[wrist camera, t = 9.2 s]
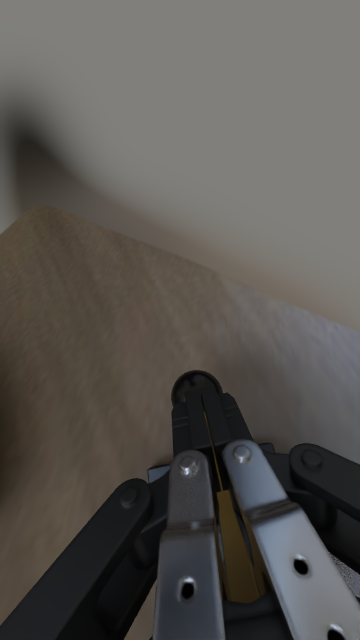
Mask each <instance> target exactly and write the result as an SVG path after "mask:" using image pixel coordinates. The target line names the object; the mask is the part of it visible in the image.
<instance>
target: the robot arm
mask: <svg viewBox="0 0 360 640" xmlns="http://www.w3.org/2000/svg"><path fill="white" fill-rule="evenodd" d="M200 392H201V397H202V401H201V397H200V393H199V388H195V389H190V390H186V391H184V394H185V402H181V403H176V404H175V406H174V408H173V410H172V428H173V429H172V432H173V453H174V458H173V460H172V462H171V464H170V469H169V470H168V471H167V472H166V473H165V474H164V475H163V476H162V477H160V478H158V479H157V480H155V481H153V482H151V483H149V484H147V482H145V481H144V480H142V479H138V478H135V479H130V480H127V481H125V482H124V483H122V484H121V485H119V486H118V487H117V488H116V489H115V491H114V492H113V493H112V494H111V495H110V497H109V498H108V499H107V500H106V501H105V502H104V504H103V505H102V506H101V507H100V508H99V510H98V511H97V512H96V513H95V514H94V515H93V517H92V518H91V519H90V520H89V521H88V523H87V524H86V525H85V526H84V527H83V528H82V530H81V531H80V532H79V533H78V534H77V536H76V537H75V538H74V539H73V540H72V542H71V543H70V544H69V545H68V546H67V547H66V549H65V550H64V551H63V552H62V553H61V555H60V556H59V557H58V558H57V559H56V560H55V562H54V563H53V564H52V565H51V566H50V568H49V569H48V570H47V571H46V572H45V573H44V575H43V576H42V577H41V578H40V579H39V581H38V582H37V583H36V584H35V585H34V586H33V588H32V589H31V590H30V591H29V592H28V594H27V595H26V596H25V597H24V598H23V599H22V601H21V602H20V603H19V604H18V605H17V607H16V608H15V609H14V610H13V611H12V613H11V614H10V615H9V616H8V617H7V618H6V620H5V621H4V622H3V623H2V624H1V626H0V640H124V638H125V636H126V634H127V632H128V631H129V629H130V627H131V625H132V623H133V621H134V619H135V618H136V616H137V614H138V612H139V610H140V608H141V606H142V605H143V603H144V601H145V599H146V597H147V595H148V594H149V592H150V590H151V588H152V586H153V584H154V582H155V581H156V579H157V585H156V598H155V611H154V625H153V636H152V637H151V638H150V639H149V640H360V598H359V597H357V596H354V594H353V592H352V591H351V589H350V587H349V586H348V584H347V582H346V581H345V579H344V577H343V576H342V574H341V572H340V571H339V569H338V567H337V566H336V564H335V562H334V561H333V559H332V557H331V556H330V554H329V552H330V553H331V554H332V555H334V556H335V557H336V558H338V559H339V560H341V561H342V562H343V563H345V564H346V565H347V566H349V567H350V568H351V569H353V570H354V571H355V572H357V573H358V574H359V575H360V465H359V464H357V463H355V462H353V461H350V460H348V459H346V458H344V457H342V456H340V455H338V454H335V453H333V452H331V451H329V450H327V449H325V448H322V447H320V446H318V445H314V444H309V443H303V444H298V445H296V446H294V447H293V448H292V449H291V450H290V452H289V454H279V453H272V452H268V451H266V450H264V449H262V448H260V447H259V446H258V445H257V444H256V443H255V442H254V441H253V439H252V437H251V434H250V432H249V430H248V428H247V425H246V423H245V421H244V419H243V416H242V414H241V412H240V410H239V408H238V405H237V403H236V401H235V399H234V398H233V397H232V396H231V395H230V394H228V393H223V394H217V391H216V389H215V386H214V385H209V386H204V387H200ZM202 402H203V405H202ZM203 407H204V410H203ZM204 411H205V414H204ZM205 416H206V418H205ZM206 421H207V422H206ZM207 425H208V426H207ZM208 429H209V431H208ZM209 434H210V435H209ZM210 438H211V439H210ZM211 442H212V443H211ZM212 446H213V448H212ZM213 450H214V453H213ZM214 455H215V458H214ZM215 459H216V463H217V467H218V472H219V476H220V480H221V484H222V488H223V491H226V490H229V494H230V498H231V501H232V507H233V512H234V515H235V518H236V521H237V524H238V527H239V530H240V533H241V536H242V539H243V542H244V545H245V548H246V551H247V554H248V557H249V560H250V563H251V566H252V569H253V572H254V576H255V579H256V583H257V586H258V590H259V594H260V597H259V598H258V599H256V600H255V601H253V602H251V603H240V602H234V601H232V600H231V594H230V588H229V582H228V575H227V567H226V560H225V552H224V545H223V537H222V530H221V522H220V515H219V502H218V497H217V492H221V487H220V482H219V477H218V472H217V468H216V463H215Z"/></svg>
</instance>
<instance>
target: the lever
mask: <svg viewBox="0 0 360 640" xmlns="http://www.w3.org/2000/svg"><path fill="white" fill-rule="evenodd" d="M209 385H214V386H215V389H216V391H217V394H223V391H222V388H221V385H220V383H219V382H218V380H217V379H216V378H215V377H214V376H213V375H211V374H210V373H208V372H205V371H201V370H192V371H188V372H186V373H184V374H183V375H181V376H180V377H179V378H178V379H177V381H176V382H175V384H174V386H173V389H172V394H171V400H172V405H173V408H174V406H175V404H176V403H181V402H185V394H184V391H186V390H190V389H195V388H199V393H200V397H201V392H200V387H204V386H209ZM201 401H202V397H201ZM202 405H203V402H202ZM203 410H204V407H203ZM204 414H205V411H204ZM205 418H206V416H205ZM206 422H207V421H206ZM207 426H208V425H207ZM208 431H209V429H208ZM209 435H210V434H209ZM210 439H211V438H210ZM211 443H212V442H211ZM212 448H213V446H212ZM213 453H214V450H213ZM214 458H215V455H214ZM215 463H216V459H215ZM216 468H217V472H218V467H217V463H216ZM218 477H219V482H220V487H221V492H217V497H218V502H219V515H220V522H221V530H222V537H223V545H224V552H225V560H226V567H227V575H228V582H229V588H230V594H231V600H232V601H234V602H240V603H251V602H253V601H255V600H256V599H258V598H259V593H258V589H257V586H256V582H255V578H254V574H253V570H252V567H251V563H250V560H249V557H248V554H247V551H246V548H245V545H244V542H243V539H242V536H241V533H240V530H239V527H238V524H237V521H236V518H235V515H234V512H233V507H232V501H231V498H230V494H229V490H226V491H223V488H222V484H221V480H220V476H219V472H218Z"/></svg>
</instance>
